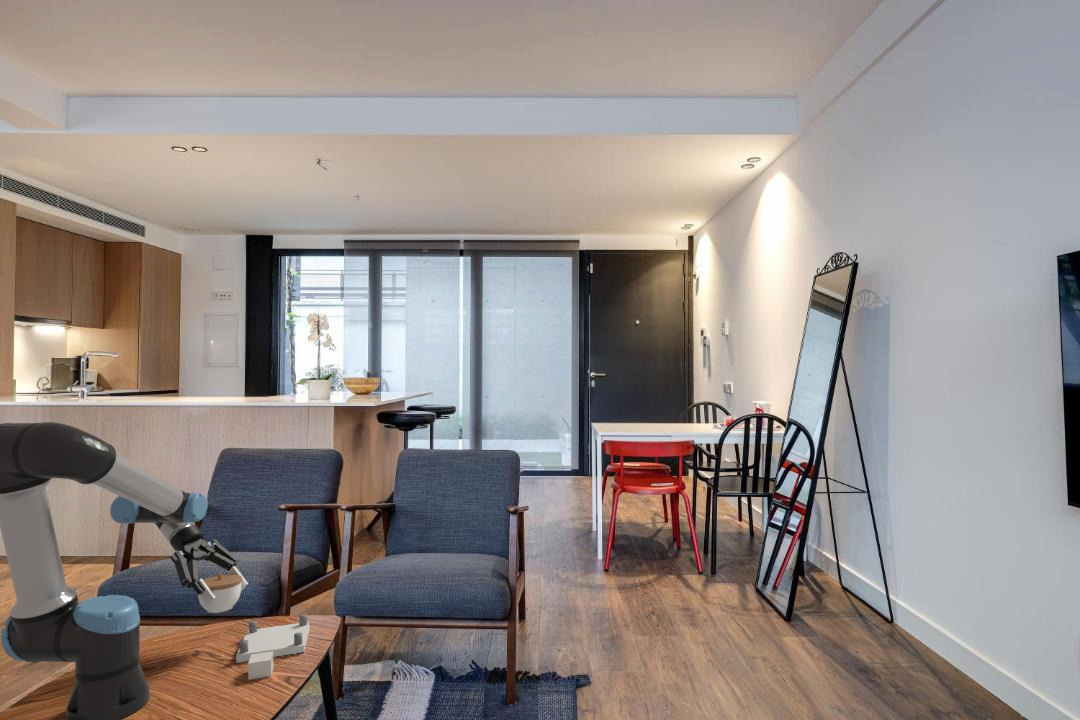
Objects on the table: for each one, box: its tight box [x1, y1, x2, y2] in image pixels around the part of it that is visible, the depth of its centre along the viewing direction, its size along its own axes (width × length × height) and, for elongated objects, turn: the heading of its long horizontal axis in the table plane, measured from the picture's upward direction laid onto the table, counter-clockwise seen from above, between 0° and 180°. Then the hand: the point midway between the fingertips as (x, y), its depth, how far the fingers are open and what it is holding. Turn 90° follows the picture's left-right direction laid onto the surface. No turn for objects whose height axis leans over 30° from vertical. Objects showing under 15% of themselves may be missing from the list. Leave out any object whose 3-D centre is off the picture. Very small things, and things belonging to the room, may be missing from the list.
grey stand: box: [235, 613, 311, 664], centre depth 164 cm, size 16×16×4 cm
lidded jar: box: [197, 572, 243, 614], centre depth 165 cm, size 11×11×9 cm
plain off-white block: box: [247, 651, 275, 681], centre depth 149 cm, size 5×5×4 cm
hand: (228, 594), depth 165 cm, fingers closed on lidded jar, 11 cm apart
